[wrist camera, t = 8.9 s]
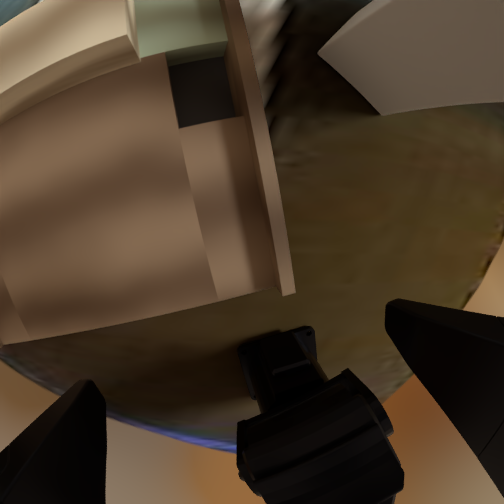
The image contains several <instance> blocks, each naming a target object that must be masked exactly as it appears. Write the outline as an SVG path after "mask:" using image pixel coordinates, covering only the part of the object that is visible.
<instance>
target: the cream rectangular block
mask: <svg viewBox="0 0 504 504" xmlns="http://www.w3.org/2000/svg"><path fill="white" fill-rule="evenodd" d="M140 62H141V59H140V52H139V44H138V35H137V26H136V16H135V5H134V0H44V1H42V2H40V3H38V4H36V5H35V6H33V7H31V8H29V9H28V10H26V11H24V12H23V13H21V14H19V15H18V16H16V17H14V18H13V19H11V20H10V21H8V22H7V23H5V24H4V25H2V26H1V27H0V125H1V124H2V123H4V122H6V121H7V120H9V119H10V118H12V117H14V116H16V115H17V114H19V113H21V112H22V111H24V110H26V109H28V108H30V107H31V106H33V105H35V104H37V103H39V102H41V101H43V100H45V99H47V98H49V97H51V96H53V95H55V94H57V93H59V92H61V91H64V90H66V89H68V88H70V87H73V86H75V85H77V84H80V83H82V82H85V81H87V80H90V79H92V78H95V77H97V76H100V75H103V74H106V73H108V72H111V71H114V70H117V69H120V68H123V67H127V66H130V65H133V64H136V63H140Z"/></svg>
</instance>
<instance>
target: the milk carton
mask: <svg viewBox="0 0 504 504" xmlns="http://www.w3.org/2000/svg"><path fill="white" fill-rule="evenodd" d="M317 54H318V55H319V56H320V57H321V58H323V59H324V60H325V61H326V62H327V63H328V64H330V65H331V66H332V67H333V68H334V69H335V70H336V71H337V72H339V73H340V74H341V75H342V76H343V77H344V78H345V79H346V80H347V81H348V82H349V83H350V84H351V85H352V86H353V87H354V88H355V89H356V90H358V91H359V92H360V93H361V94H362V95H363V96H364V97H365V99H366V100H367V101H368V102H369V103H370V104H371V105H372V106H373V107H374V108H375V109H376V110H377V111H378V112H379V113H380V114H381V115H389V114H394V113H400V112H406V111H413V110H419V109H426V108H434V107H442V106H451V105H461V104H473V103H489V102H504V0H373V1H372V2H370V3H369V4H368V5H366V6H365V7H363V8H362V9H361V10H359V11H358V12H357V13H356V14H355V15H354V16H353V17H351V18H350V19H349V20H348V21H347V22H346V23H345V24H344V25H343V26H342V27H341V28H340V29H339V30H338V31H337V32H336V33H335V34H334V35H333V36H332V37H331V38H330V39H329V41H328V42H327V43H326V44H325V45H324V46H323V47H322V48H321V49H320V50H319V51H318V53H317Z"/></svg>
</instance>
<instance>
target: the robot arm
mask: <svg viewBox="0 0 504 504" xmlns="http://www.w3.org/2000/svg"><path fill="white" fill-rule="evenodd" d="M385 329H386V332H387V334H388V335H389V337H390V338H391V340H392V341H393V343H394V344H395V346H396V347H397V349H398V350H399V352H400V354H401V355H402V357H403V358H404V360H405V362H406V363H407V364H408V366H409V367H410V369H411V370H412V371H413V373H414V374H415V375H416V376H417V378H418V379H419V380H420V381H421V383H422V384H423V385H424V386H425V388H426V389H427V390H428V392H429V393H430V394H431V395H432V397H433V398H434V399H435V401H436V402H437V403H438V405H439V406H440V407H441V409H442V410H443V411H444V412H445V414H446V415H447V416H448V418H449V419H450V421H451V422H452V423H453V424H454V426H455V427H456V429H457V430H458V431H459V433H460V434H461V436H462V437H463V438H464V440H465V441H466V442H467V444H468V445H469V447H470V448H471V449H472V451H473V452H474V454H475V455H476V456H477V458H478V460H479V461H480V463H481V464H482V466H483V467H484V469H485V470H486V472H487V473H488V475H489V476H490V478H491V479H492V481H493V482H494V484H495V485H496V487H497V488H498V490H499V491H500V493H501V494H502V496H503V497H504V317H496V316H492V315H486V314H481V313H475V312H469V311H464V310H458V309H453V308H447V307H442V306H436V305H431V304H426V303H420V302H415V301H410V300H404V299H399V298H398V299H395V300H392V301H390V302H388V303H387V304H386V309H385ZM308 331H310V332H309V333H308V334H306V333H307V332H308ZM243 350H246V351H245V352H241V351H243ZM237 352H238V355H239V359H240V362H241V366H242V369H243V372H244V376H245V379H246V382H247V386H248V389H249V392H250V396H251V398H252V399H253V400H257V402H258V406H259V409H260V412H261V414H260V415H257V416H255V417H253V418H250V419H248V420H242V421H239V422H238V423H237V468H238V470H239V473H238V475H239V477H240V479H241V480H243V481H245V482H246V483H247V485H248V486H249V488H250V489H251V490H252V491H253V493H255V494H256V495H257V496H260V497H261V496H262V497H263V499H264V501H265V502H266V504H394V501H395V497H396V494H397V493H398V492H400V491H402V489H403V487H404V471H403V469H402V468H401V464H400V461H399V459H398V457H397V455H396V453H395V451H394V449H393V447H392V445H391V444H390V442H389V440H388V438H387V437H388V436H390V435H392V434H393V432H394V430H393V426H392V424H391V421H390V419H389V417H388V415H387V413H386V411H385V410H384V408H383V406H382V405H381V403H380V402H379V400H378V399H377V398H376V396H375V395H374V394H373V393H372V392H371V390H370V389H369V388H368V387H367V386H366V385H365V384H364V383H363V382H362V381H360V380H359V379H358V378H357V377H356V376H355V375H354V374H353V373H352V372H351V371H350V370H349V369H348V368H347V369H345V370H343V371H342V372H341V374H339V375H337V376H336V377H334V378H332V379H330V380H329V379H328V378H327V376H326V374H325V373H324V371H323V370H322V368H321V367H320V365H319V363H318V362H317V353H316V341H315V331H314V329H313V328H312V327H311V326H306V327H303V328H300V329H297V330H293V331H289V332H285V333H282V334H279V335H275V336H272V337H268V338H265V339H262V340H259V341H255V342H251V343H247V344H244V345H241V346H239V347H238V349H237ZM106 455H107V431H106V402H105V399H104V397H103V395H102V394H101V392H100V391H99V389H98V388H97V386H96V385H95V383H94V382H93V381H92V380H91V379H83V380H79V381H77V382H76V383H75V384H74V385H73V386H72V387H71V388H70V389H68V390H67V391H66V392H65V393H64V394H63V395H62V396H61V397H60V398H59V399H58V400H56V402H54V403H53V404H52V405H51V406H50V407H49V408H48V409H46V410H45V411H44V412H43V413H42V414H41V415H40V416H39V417H38V418H37V419H36V420H35V421H33V422H32V423H31V424H30V425H29V426H28V427H27V428H26V429H25V430H24V431H23V432H22V433H21V434H19V436H17V437H16V438H15V439H14V440H13V441H12V442H11V443H10V444H9V445H8V446H7V447H6V448H5V449H3V450H2V451H1V452H0V504H106V502H105V501H106V500H105V487H106V486H105V483H106Z"/></svg>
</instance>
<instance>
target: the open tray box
mask: <svg viewBox="0 0 504 504" xmlns="http://www.w3.org/2000/svg"><path fill="white" fill-rule="evenodd" d="M134 5H135V16H136V26H137V35H138V44H139V52H140V59H141V62H140V63H136V64H133V65H130V66H127V67H123V68H120V69H117V70H114V71H111V72H108V73H106V74H103V75H100V76H97V77H95V78H92V79H90V80H87V81H85V82H82V83H80V84H77V85H75V86H73V87H70V88H68V89H66V90H64V91H61V92H59V93H57V94H55V95H53V96H51V97H49V98H47V99H45V100H43V101H41V102H39V103H37V104H35V105H33V106H31V107H30V108H28V109H26V110H24V111H22V112H21V113H19V114H17V115H16V116H14V117H12V118H10V119H9V120H7V121H6V122H4V123H2V124H1V125H0V349H1V347H2V346H3V345H5V344H11V343H18V342H24V341H30V340H37V339H42V338H48V337H54V336H60V335H65V334H71V333H76V332H81V331H87V330H92V329H97V328H102V327H107V326H112V325H117V324H121V323H126V322H131V321H136V320H140V319H145V318H149V317H154V316H158V315H163V314H167V313H172V312H176V311H180V310H185V309H189V308H193V307H197V306H201V305H206V304H210V303H214V302H218V301H222V300H226V299H230V298H234V297H238V296H242V295H245V294H249V293H253V292H257V291H261V290H265V289H268V288H272V287H277V289H278V290H279V291H280V293H281V294H282V296H286V295H290V294H293V293H296V291H295V284H294V277H293V271H292V264H291V257H290V251H289V244H288V238H287V232H286V226H285V220H284V214H283V208H282V202H281V196H280V190H279V185H278V179H277V174H276V168H275V163H274V157H273V152H272V147H271V142H270V136H269V131H268V126H267V121H266V116H265V112H264V107H263V102H262V97H261V92H260V88H259V83H258V79H257V74H256V70H255V65H254V61H253V56H252V52H251V48H250V43H249V39H248V35H247V31H246V27H245V23H244V19H243V15H242V11H241V7H240V3H239V0H134Z"/></svg>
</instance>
